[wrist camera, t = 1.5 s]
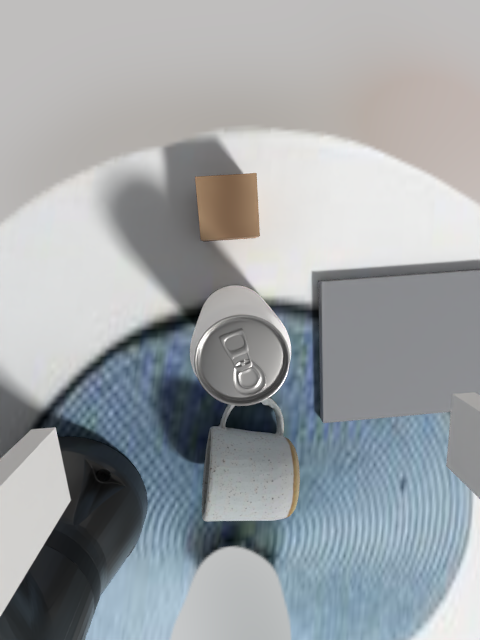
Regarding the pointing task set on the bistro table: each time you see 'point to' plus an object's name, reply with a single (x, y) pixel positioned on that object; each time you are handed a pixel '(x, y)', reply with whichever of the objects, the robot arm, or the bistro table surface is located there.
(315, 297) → the bistro table surface
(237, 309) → the can
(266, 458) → the ceramic mug
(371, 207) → the bistro table surface
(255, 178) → the walnut block
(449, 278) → the mat
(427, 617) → the bistro table surface
